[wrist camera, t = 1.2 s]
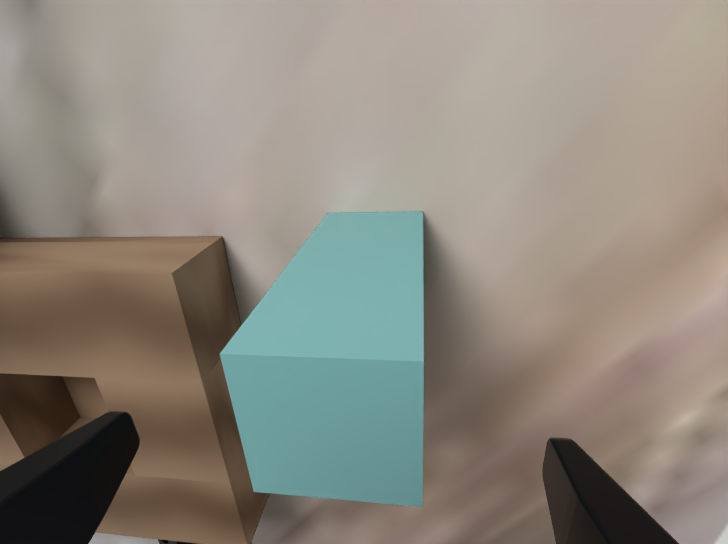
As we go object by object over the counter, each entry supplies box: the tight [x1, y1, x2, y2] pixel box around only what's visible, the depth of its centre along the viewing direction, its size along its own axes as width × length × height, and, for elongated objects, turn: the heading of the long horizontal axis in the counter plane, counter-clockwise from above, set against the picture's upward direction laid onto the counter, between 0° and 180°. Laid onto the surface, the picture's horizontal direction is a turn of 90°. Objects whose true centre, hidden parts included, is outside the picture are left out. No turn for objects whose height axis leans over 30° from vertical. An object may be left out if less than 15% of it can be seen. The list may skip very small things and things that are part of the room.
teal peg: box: [220, 211, 424, 507], centre depth 13 cm, size 4×4×10 cm
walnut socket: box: [0, 236, 270, 544], centre depth 21 cm, size 16×16×4 cm
